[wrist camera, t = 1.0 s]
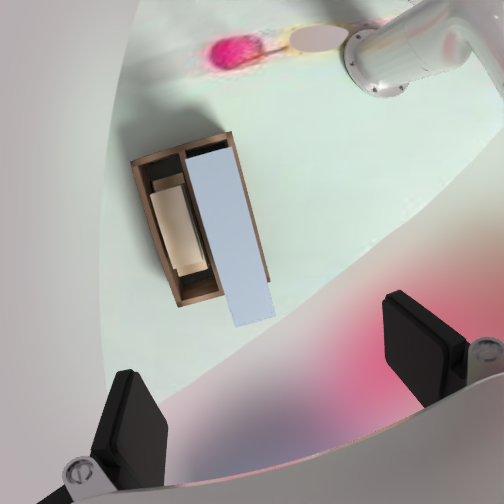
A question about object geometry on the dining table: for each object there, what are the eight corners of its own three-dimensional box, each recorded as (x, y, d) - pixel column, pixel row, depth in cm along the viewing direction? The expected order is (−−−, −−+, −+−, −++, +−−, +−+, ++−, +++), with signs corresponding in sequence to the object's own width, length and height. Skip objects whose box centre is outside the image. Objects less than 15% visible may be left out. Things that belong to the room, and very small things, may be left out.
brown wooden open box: (228, 135, 44) (231, 131, 38) (263, 267, 50) (270, 281, 44) (139, 161, 43) (130, 161, 37) (181, 291, 49) (177, 307, 44)
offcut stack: (183, 171, 45) (178, 173, 38) (209, 261, 49) (209, 278, 42) (155, 180, 44) (145, 183, 37) (182, 268, 49) (178, 286, 41)
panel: (222, 153, 45) (231, 146, 25) (250, 256, 49) (275, 315, 30) (195, 161, 44) (185, 159, 25) (224, 263, 49) (235, 327, 30)
